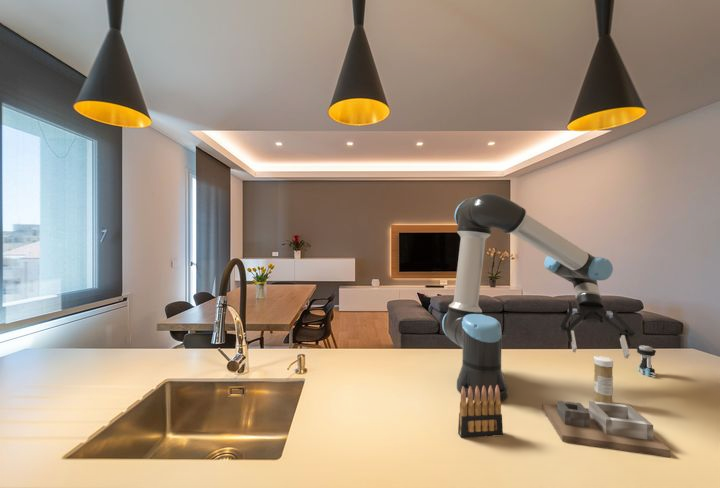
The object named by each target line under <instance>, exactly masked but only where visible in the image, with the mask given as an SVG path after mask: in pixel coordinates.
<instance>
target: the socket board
mask: <svg viewBox="0 0 720 488" xmlns="http://www.w3.org/2000/svg"><path fill="white" fill-rule="evenodd" d="M612 403H613V402H612ZM612 403H603V402H595V401H594V400H591V401H590V400H588V408H587V407H584V405H583V404H582V403H581V402H574V401H564V400H557V404H553V403H544V402H543V403H542V404H541V409H542V411H543V413H544V414H545V416H546V417H547V419H548V420H549V422H550V423H551V426H552V427H553V429H554V430H555V432H556V434H557V435H558V437H559V439H560V440H561V442H563V443H568V444H569V443H572V444H576V445H583V446H591V447H598V448H603V449H604V448H605V449H612V450H618V451H626V452H634V453H641V454H647V455H655V456H660V457H669V458H670V457H671V449H670V448H668V447H667V445H665V444H664V443H663V442H662V441H661V440H659V438H657V437H656V435H654V424H652V422H650V421H649V420H648V419H647V418H645V417H644V416H643V415H642V414H641V413H639V411H638V410H636V409H635V408H634V407H632V406H631V405H629V404H619V403H613V404H612Z"/></svg>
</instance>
